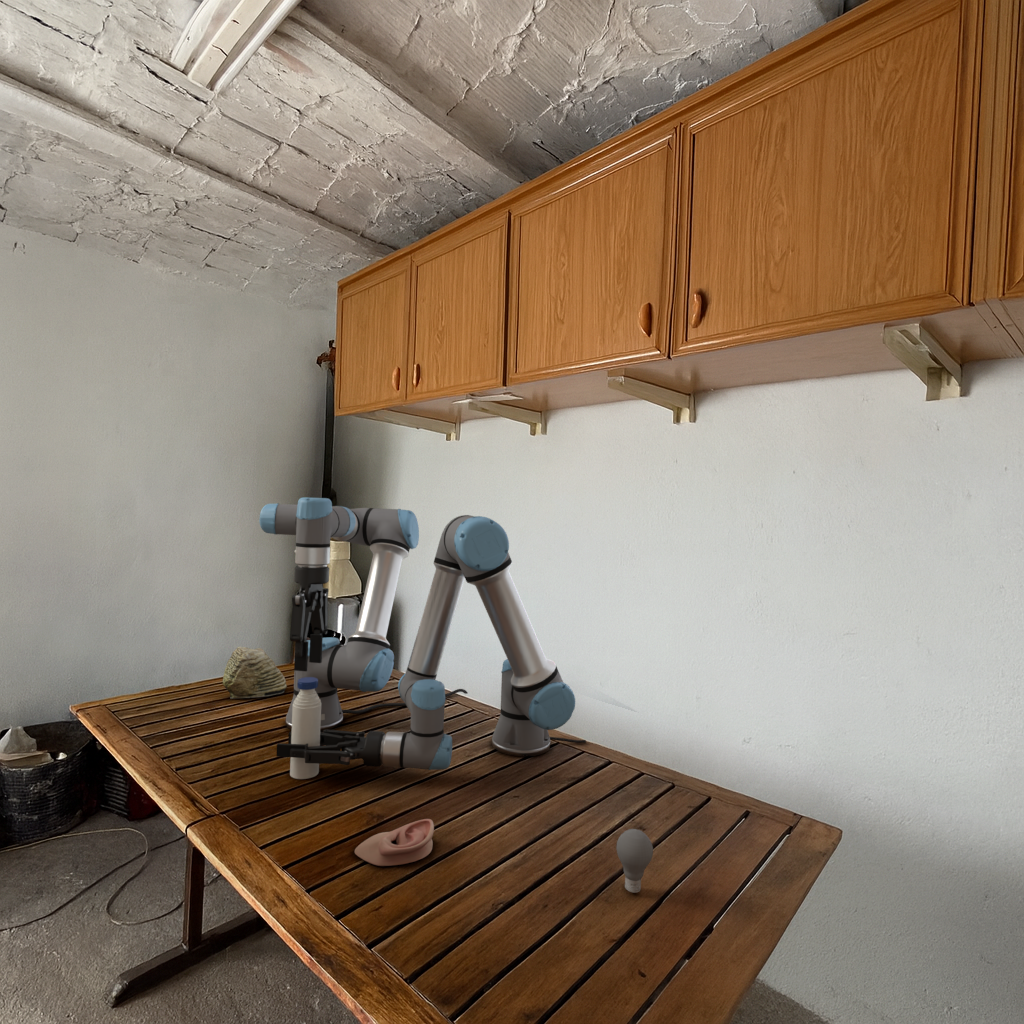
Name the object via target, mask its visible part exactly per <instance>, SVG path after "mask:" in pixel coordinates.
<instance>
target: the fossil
mask: <svg viewBox="0 0 1024 1024" xmlns="http://www.w3.org/2000/svg"><path fill="white" fill-rule="evenodd" d="M222 676H223V677H222V685H223V687H224V688H225V690H226V691H228V693H229V698H230V699H250V698H264V697H271V696H275V695H281V694H284V693H285V691H286V689H287V687H288V686H287V680H286V678H285V676H284V674H283V673H282V672H281V669H279V668H278V667H277V665H276V663H275V662H274V660H273V659H272V658H271V657H270V656H269V655H268V654H267V653H266V652H265V650H264V649H263V648H260V647H258V648H251V647H247V646H246V647H245V646H238V647H237V648H236V649H235V650H233V651H232V653H231V656H230V657H229V659H228V660H227V663H226V666H225V668H224V671H223V675H222Z"/></svg>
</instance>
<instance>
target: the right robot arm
mask: <svg viewBox="0 0 1024 1024" xmlns="http://www.w3.org/2000/svg"><path fill="white" fill-rule="evenodd" d="M437 545H438V546H437V549H436V553H435V557H434V560H433V565H434V568H435V571H434V574H433V578H432V581H431V585H430V588H429V591H428V595H427V598H426V602H425V606H424V609H423V612H422V616H421V620H420V622H419V626H418V629H417V632H416V633H417V634H416V636H415V639H414V644H413V647H412V650H411V654H410V657H409V660H408V664H407V667H406V670H405V673H404V674H402V676H401V677H400V679H399V680H398V684H397V689H398V695H399V697H400V699H401V700H402V701H403V703H405V704H406V705H407V706H406V707H407V710H408V711H409V712H410V727H409V729H410V730H409V732H403V731H387V732H384V731H381V730H380V731H378V730H370V731H368V732H367V733H365V731H349V730H337V729H329V730H327V729H325V730H324V731H320V746H312V747H308V744H305V745H303V744H291V733H292V731H289V732H288V741H287V743H283V742H282V743H281V742H277V743H276V755H275V756H276V757H278V758H291V757H295V758H305V763H317V764H319V765H324V764H325V765H343V766H350V765H351V761H354V760H362V761H363V765H364V766H366V767H374V768H375V767H377V768H379V767H381V766H383V767H384V768H393V769H394V770H397V769H398V768H399V769H400V768H401V769H417V770H428V771H441V770H447V769H448V768H449V767H450V766H451V762H452V756H453V737H452V735H450V734H446V733H445V730H444V727H445V726H444V725H445V723H444V722H445V708H446V707H445V705H446V700H447V699H446V698H447V697H445V694H446V687H445V684H444V683H443V681H439V680H437V676H438V671H439V669H440V665H441V660H442V657H443V654H444V651H445V647H446V644H447V641H448V637H449V634H450V632H451V631H450V630H451V627H452V623H453V620H454V617H455V613H456V609H457V607H458V603H459V600H460V597H461V594H462V589H463V586H464V583H465V581H466V582H467V584H470V585H473V586H474V587H475V588H476V590H477V592H478V595H479V597H480V599H481V602H482V604H483V606H484V608H485V611H486V613H487V615H488V618H489V620H490V622H491V624H492V627H493V629H494V631H495V633H496V636H497V638H498V640H499V643H500V645H501V647H502V649H503V653H504V654H505V657H506V659H505V660H503V661H502V668H501V671H500V672H501V685H500V686H501V687H500V712H499V713H500V714H499V718H498V719H497V722H496V726H495V728H494V731H493V732H492V733H493V734H492V739H491V745H492V747H493V748H494V749H495V750H496V751H498V752H500V753H502V754H505V755H509V756H513V757H535V756H539V755H544V754H546V753H547V752H549V750H550V748H551V741H560V742H567V743H573V744H586V743H587V740H586V739H572V738H571V739H570V738H566V737H565V738H564V737H557V736H550V733H549V731H553V730H556V729H560V728H561V727H562V726H564V725H565V724H566V723H568V722H569V720H570V719H571V718H572V716H573V713H574V711H575V708H576V697H575V696H576V695H575V693H574V691H573V690H572V688H571V687H570V685H569V684H567V683H566V682H564V680H563V679H562V676H561V673H560V671H559V669H558V667H557V664H556V662H555V660H552V659H550V658H547V656H546V654H545V652H544V650H543V647H542V645H541V643H540V640H539V638H538V636H537V634H536V630H535V629H534V626H533V624H532V622H531V619H530V616H529V614H528V612H527V610H526V607H525V604H524V602H523V601H522V598H521V596H520V593H519V590H518V588H517V586H516V584H515V581H514V579H513V577H512V574H511V571H510V569H511V567H512V565H513V561H512V558H511V555H510V554H509V553H510V552H509V550H510V541H509V537H508V534H507V532H506V531H505V528H504V527H503V526H501V524H500V523H498V522H497V521H496V520H493V519H492V518H489V517H486V516H480V515H477V516H474V515H470V514H464V515H458V516H456V517H453V518H452V519H451V520H450V521H449V522H448V523H447V524H446V525H445V527H444V528H443V530H442V532H441V535H440V539H439V542H438V544H437ZM365 735H366V736H365Z"/></svg>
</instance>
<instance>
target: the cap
mask: <svg viewBox="0 0 1024 1024" xmlns="http://www.w3.org/2000/svg"><path fill="white" fill-rule="evenodd" d="M297 687H298V688H299V689H302V690H310V689H315V688H317V687H318V679H317V678H314V677H305V678H300V679H299V680H298V686H297Z"/></svg>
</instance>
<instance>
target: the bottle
mask: <svg viewBox="0 0 1024 1024" xmlns="http://www.w3.org/2000/svg"><path fill="white" fill-rule="evenodd" d="M320 726H321V700H320V699H319V697H318V694H316V691H315V689H310V690H302V689H300V692H299V694H298V695H297V697H296V698H295V700H294V702H293V707H292V729H291V732H292V733H291V744H303V745H305V744H308V747H312V746H320V732H321V731H320ZM289 760H290V761H289V776H290V777H291V778H292V779H294V780H295V779H296V780H306V779H307V780H308V779H311V778H315V777H316V776H317V775H319V772H320V764H317V763H305V758H295V757H290V759H289Z"/></svg>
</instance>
